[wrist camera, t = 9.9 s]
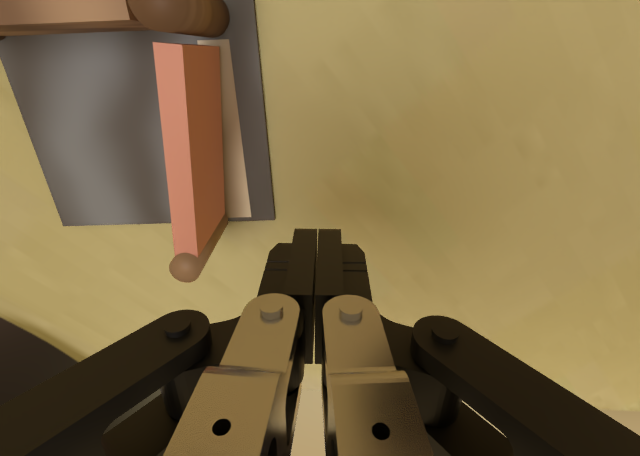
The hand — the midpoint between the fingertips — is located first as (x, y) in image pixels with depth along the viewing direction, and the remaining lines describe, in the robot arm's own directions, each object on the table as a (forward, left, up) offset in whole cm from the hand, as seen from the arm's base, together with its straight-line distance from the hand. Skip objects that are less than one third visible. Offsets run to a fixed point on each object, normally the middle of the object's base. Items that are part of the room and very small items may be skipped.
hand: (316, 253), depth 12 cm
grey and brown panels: (+10, +6, -13) cm, 17 cm away
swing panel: (+5, +4, -12) cm, 14 cm away
